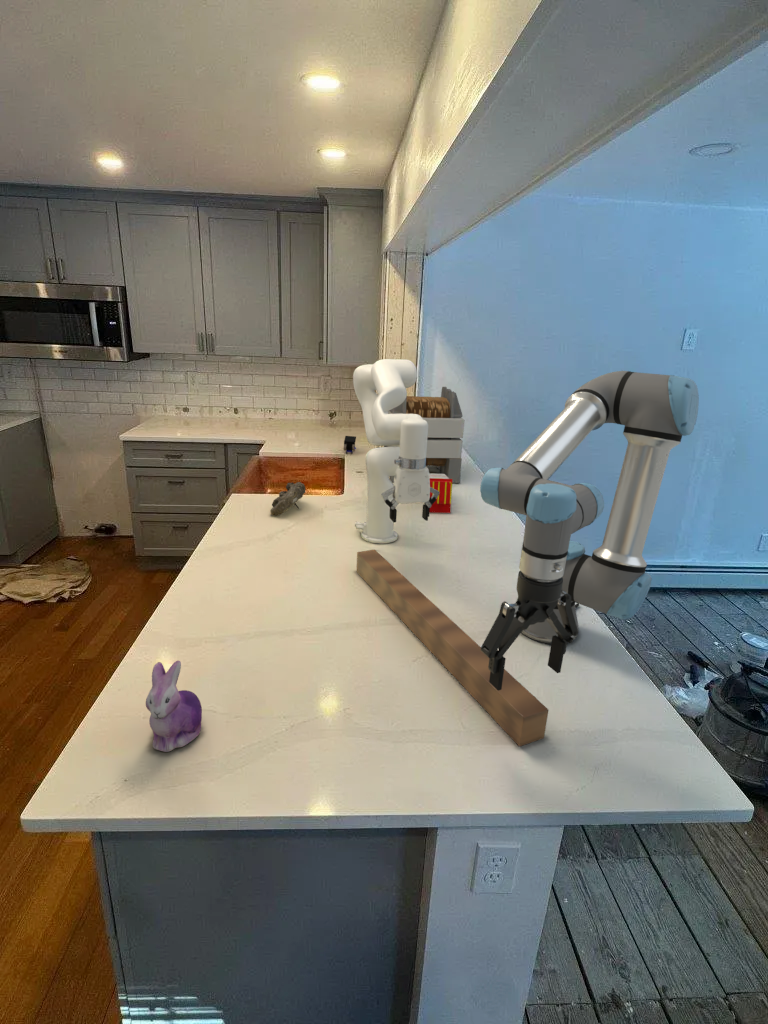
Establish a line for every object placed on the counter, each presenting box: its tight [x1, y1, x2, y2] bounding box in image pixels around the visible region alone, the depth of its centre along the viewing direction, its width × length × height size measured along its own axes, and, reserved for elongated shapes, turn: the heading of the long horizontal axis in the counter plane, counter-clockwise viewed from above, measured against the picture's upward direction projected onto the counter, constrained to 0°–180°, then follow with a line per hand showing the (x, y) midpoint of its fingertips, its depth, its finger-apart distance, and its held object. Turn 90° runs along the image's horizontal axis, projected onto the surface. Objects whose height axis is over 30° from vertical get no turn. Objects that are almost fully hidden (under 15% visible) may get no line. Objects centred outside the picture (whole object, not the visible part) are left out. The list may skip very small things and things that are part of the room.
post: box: [356, 549, 549, 747], centre depth 137 cm, size 78×6×6 cm, turn 25°
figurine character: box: [343, 435, 357, 455], centre depth 308 cm, size 7×8×15 cm
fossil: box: [270, 481, 307, 517], centre depth 218 cm, size 22×10×15 cm
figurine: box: [145, 660, 203, 753], centre depth 100 cm, size 9×10×15 cm
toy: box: [429, 472, 453, 514], centre depth 233 cm, size 12×13×30 cm
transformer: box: [383, 386, 465, 484], centre depth 268 cm, size 34×33×41 cm
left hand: (409, 520), depth 165 cm, fingers open, 9 cm apart
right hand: (525, 677), depth 105 cm, fingers open, 13 cm apart
